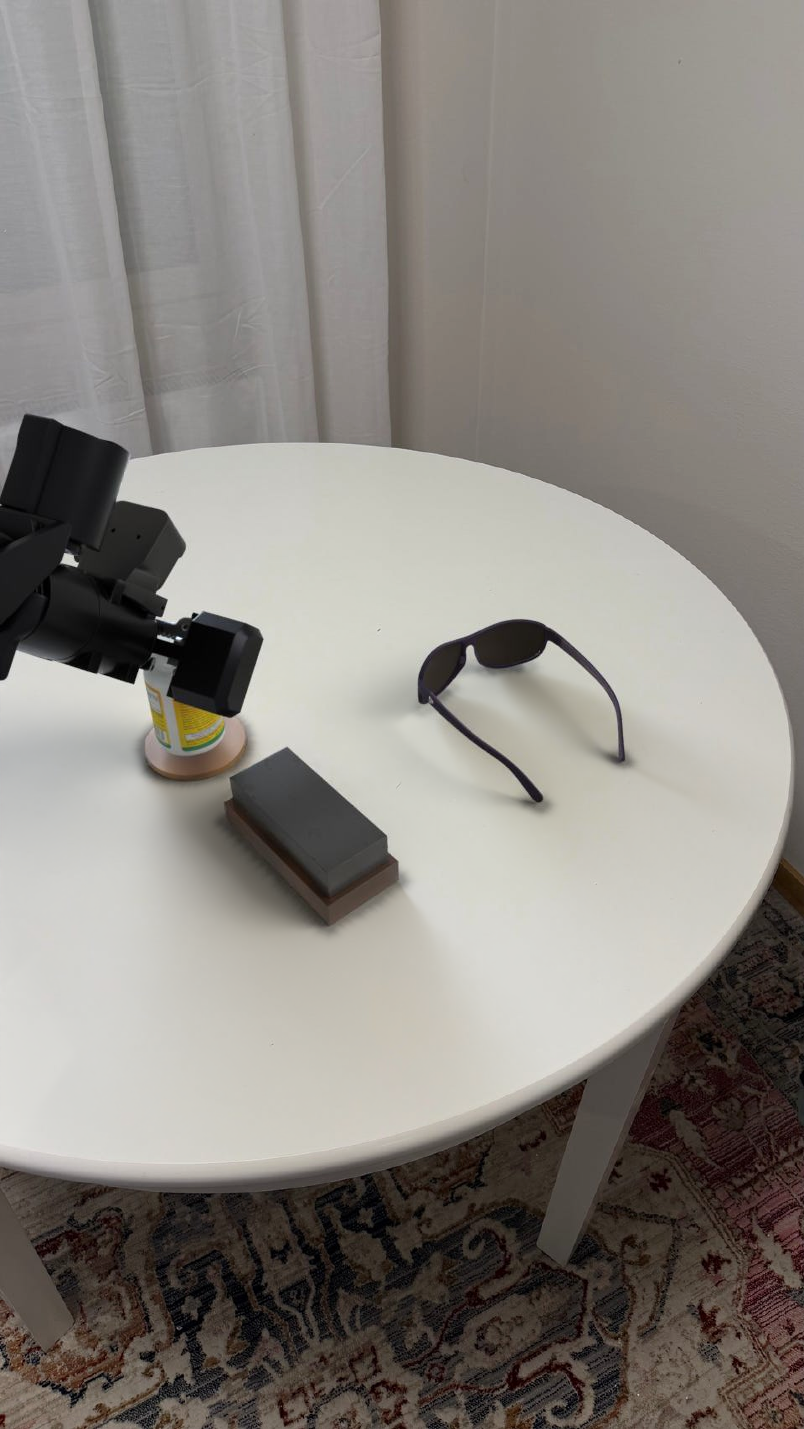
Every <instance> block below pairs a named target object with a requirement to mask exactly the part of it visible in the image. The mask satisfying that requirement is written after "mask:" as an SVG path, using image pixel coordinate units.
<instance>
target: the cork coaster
mask: <svg viewBox="0 0 804 1429" xmlns="http://www.w3.org/2000/svg"><path fill="white" fill-rule="evenodd" d="M224 722H225V734H224V736H223V738H222V740H221V741H220V743H219V744H218V745H217V746H215V747H214V748H213V749H211V750H209V751H207V752H205V753H201V754H197V755H193V756H178V755H174V754H171V753H169V752H167V751H165V750H164V749H163V748H162V747H161V746H160V745H159V743H158V741H157V738H156V734H155V729H154V726H153V727H152V728H151V729H150V731H149V732H148V734H147V735H146V737H145V740H144V745H143V750H144V755H145V759H146V761H147V764H148V765H149V767H150V768H151V769H152V770H153V771H154V772H156V773H157V774H159V775H161V776H163V777H165V778H168V779H171V780H176V781H187V782H188V781H191V782H192V781H200V780H205V779H210V778H212V777H215V776H217V775H220V774H222V773H224V772H226V771H227V770H229V769H230V768H232V767H233V766H234V765H235V764H236V763H238V761H240V759H241V757H242V756H243V755H244V753H245V751H246V747H247V742H248V740H247V739H248V738H247V732H246V728H245V726H244V725H243V723H242V722H241V721H240V720H239V718H237V716H236V715H235V716H234V717H232V718H227V717H224Z"/></svg>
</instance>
